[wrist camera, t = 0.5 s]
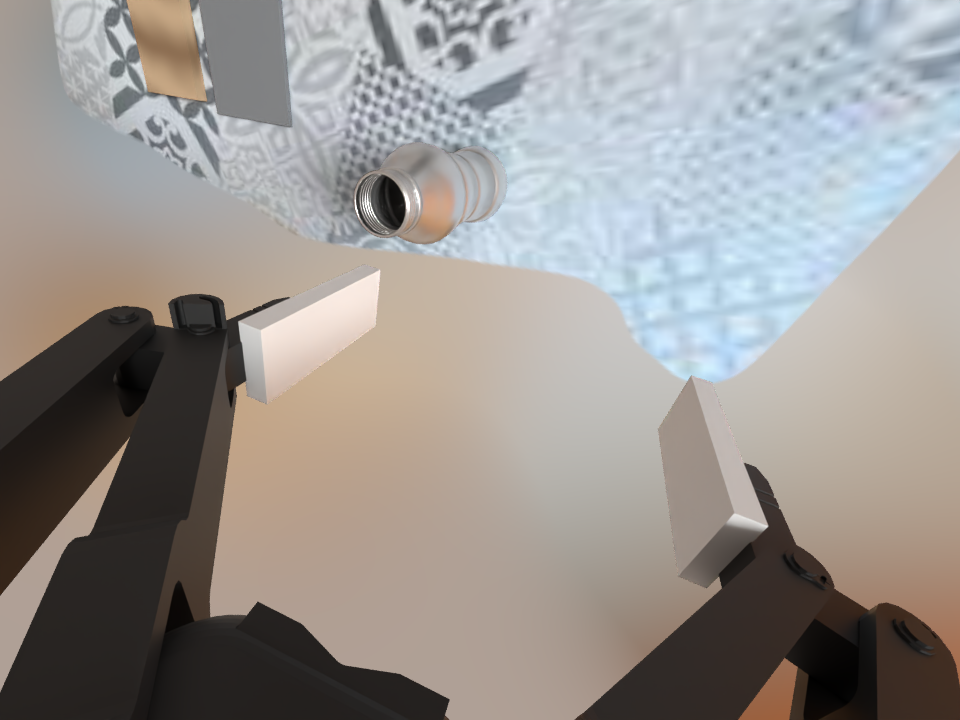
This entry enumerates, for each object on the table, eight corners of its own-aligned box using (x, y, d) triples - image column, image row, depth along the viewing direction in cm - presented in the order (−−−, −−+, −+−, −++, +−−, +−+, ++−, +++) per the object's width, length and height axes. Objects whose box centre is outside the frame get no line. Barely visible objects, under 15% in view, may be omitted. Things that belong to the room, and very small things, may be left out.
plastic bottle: (444, 205, 42) (326, 240, 25) (461, 135, 38) (338, 122, 21) (499, 228, 41) (416, 280, 24) (522, 159, 38) (444, 164, 21)
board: (132, -22, 41) (120, -27, 40) (186, -16, 40) (175, -21, 39) (158, 92, 46) (148, 91, 45) (207, 101, 45) (197, 100, 44)
